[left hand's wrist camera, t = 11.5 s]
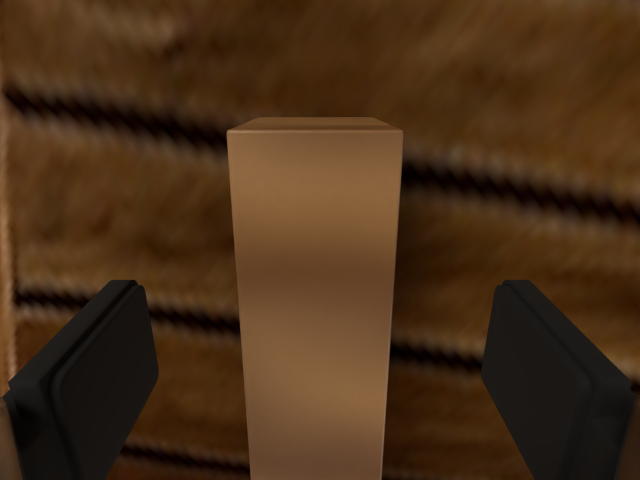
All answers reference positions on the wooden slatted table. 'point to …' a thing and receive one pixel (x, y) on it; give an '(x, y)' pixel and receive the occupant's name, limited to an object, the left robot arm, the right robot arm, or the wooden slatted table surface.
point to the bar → (315, 290)
